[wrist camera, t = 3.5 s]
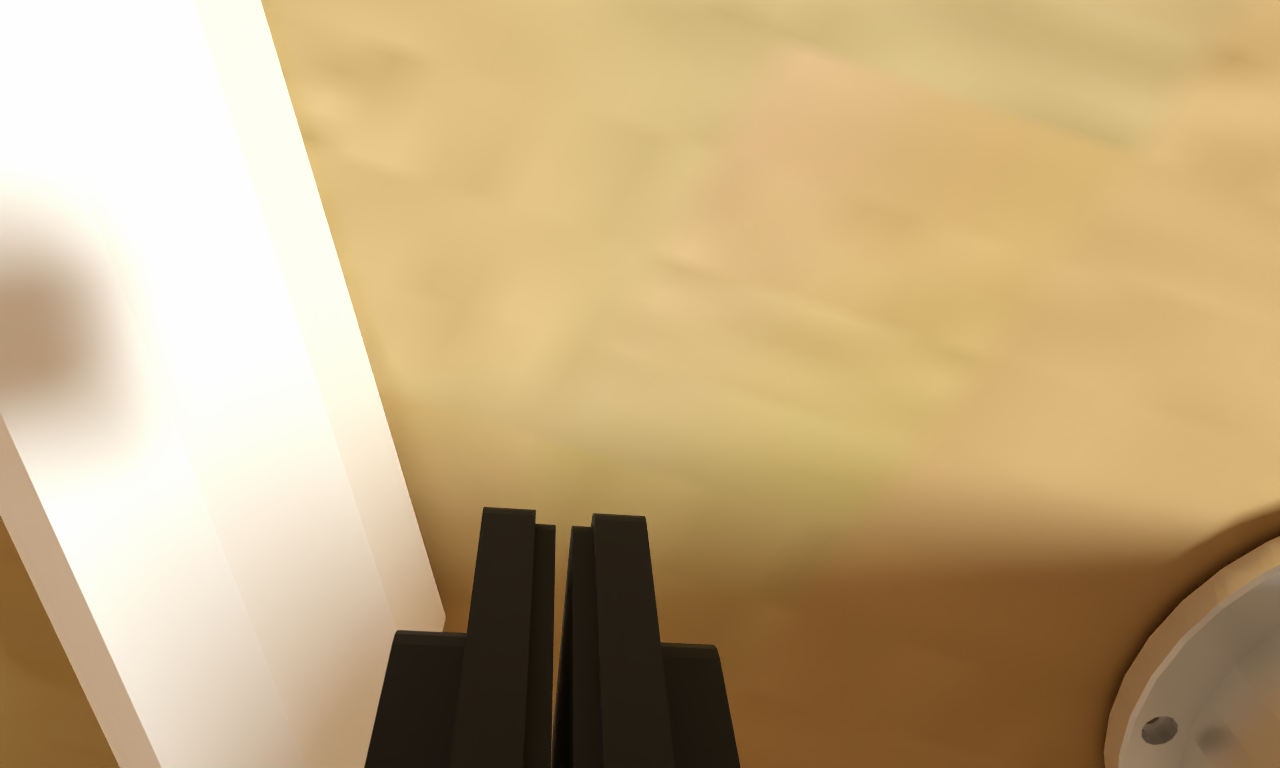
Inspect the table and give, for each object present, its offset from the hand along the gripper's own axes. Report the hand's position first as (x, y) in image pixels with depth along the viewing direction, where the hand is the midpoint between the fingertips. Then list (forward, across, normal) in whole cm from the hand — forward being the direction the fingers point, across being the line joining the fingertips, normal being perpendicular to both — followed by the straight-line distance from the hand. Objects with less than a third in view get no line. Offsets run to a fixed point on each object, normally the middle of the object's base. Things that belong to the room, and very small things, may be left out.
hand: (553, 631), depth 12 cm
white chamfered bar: (+13, +8, +1) cm, 16 cm away
